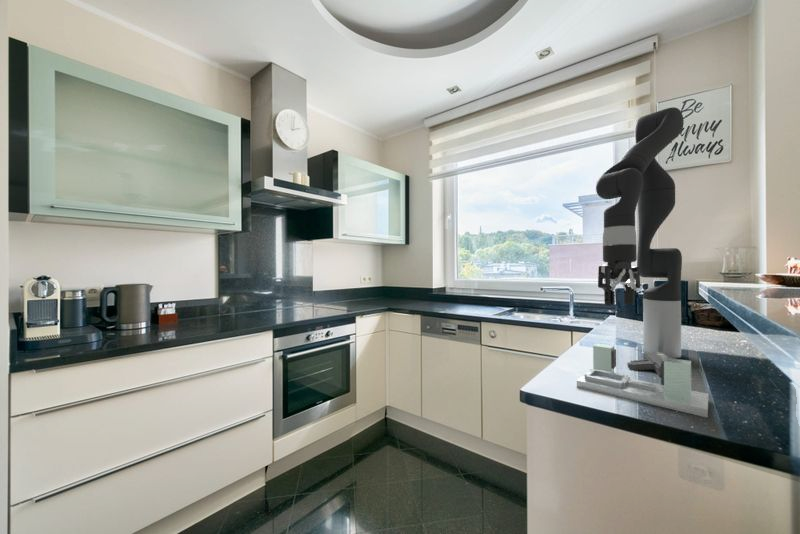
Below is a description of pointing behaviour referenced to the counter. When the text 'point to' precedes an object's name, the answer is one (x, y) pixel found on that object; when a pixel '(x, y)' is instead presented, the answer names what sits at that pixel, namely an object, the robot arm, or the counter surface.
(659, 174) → the robot arm
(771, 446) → the counter surface
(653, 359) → the dark grey bracket
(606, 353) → the pale grey upright block
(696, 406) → the rail
